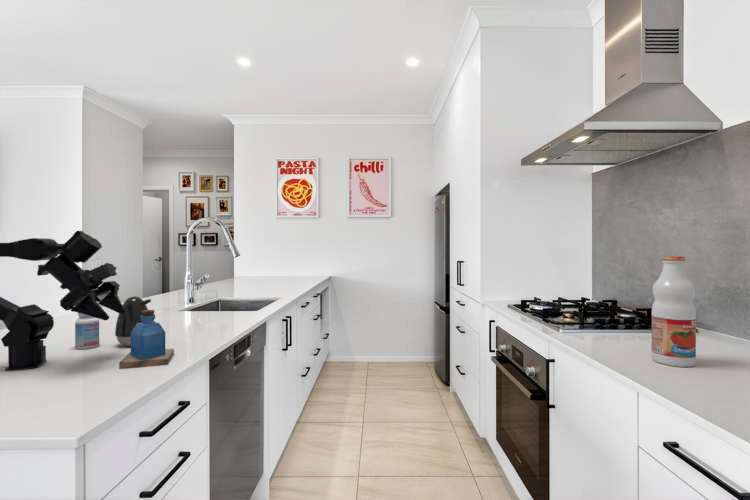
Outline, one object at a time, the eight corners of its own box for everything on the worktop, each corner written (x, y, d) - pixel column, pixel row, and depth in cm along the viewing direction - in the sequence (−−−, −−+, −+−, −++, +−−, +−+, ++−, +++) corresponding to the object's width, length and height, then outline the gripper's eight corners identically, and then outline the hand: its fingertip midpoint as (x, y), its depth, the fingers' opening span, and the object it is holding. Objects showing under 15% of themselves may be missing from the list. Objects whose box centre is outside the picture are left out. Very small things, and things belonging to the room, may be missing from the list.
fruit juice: (664, 355, 113) (665, 255, 112) (703, 364, 104) (704, 256, 104) (643, 359, 109) (644, 256, 108) (682, 369, 100) (683, 257, 100)
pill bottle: (86, 350, 121) (86, 312, 120) (70, 349, 122) (69, 312, 122) (104, 345, 126) (104, 309, 126) (88, 344, 128) (87, 309, 128)
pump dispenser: (141, 348, 122) (141, 298, 122) (107, 348, 122) (107, 298, 122) (159, 340, 132) (159, 294, 132) (128, 340, 132) (128, 294, 132)
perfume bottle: (141, 360, 104) (140, 313, 104) (130, 355, 108) (130, 311, 108) (165, 354, 109) (165, 310, 109) (154, 350, 113) (154, 308, 113)
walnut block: (119, 372, 102) (119, 362, 102) (130, 360, 112) (130, 351, 112) (167, 368, 106) (167, 358, 106) (174, 357, 116) (174, 348, 116)
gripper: (73, 254, 97) (123, 298, 99) (111, 252, 116) (153, 290, 118) (37, 287, 96) (88, 331, 98) (81, 280, 115) (124, 318, 117)
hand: (116, 316), depth 108 cm, fingers open, 9 cm apart
